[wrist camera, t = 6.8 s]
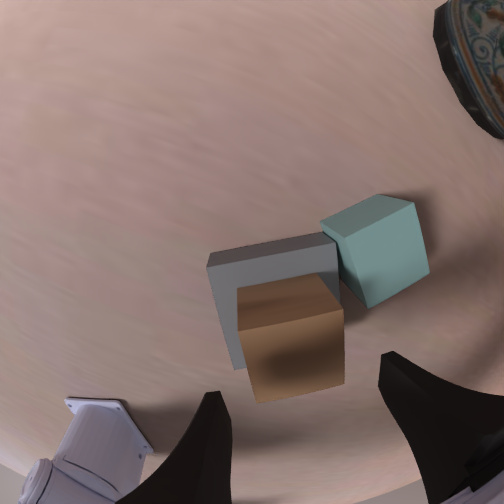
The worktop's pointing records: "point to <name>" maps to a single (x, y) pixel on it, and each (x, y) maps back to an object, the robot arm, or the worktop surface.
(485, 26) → the beer stein
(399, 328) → the worktop surface
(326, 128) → the worktop surface
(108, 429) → the robot arm
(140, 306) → the worktop surface
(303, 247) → the base block
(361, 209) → the teal cube
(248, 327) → the walnut cube
